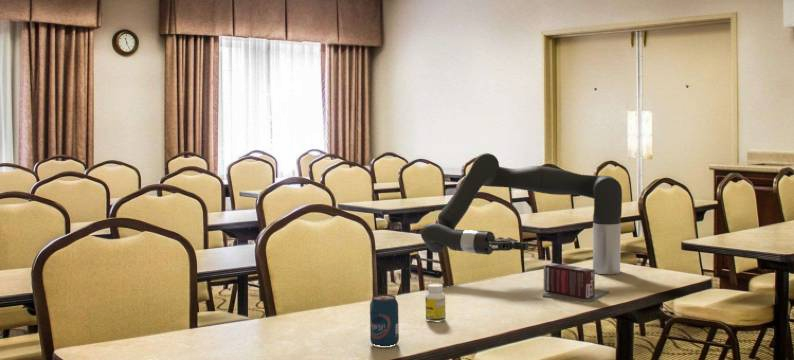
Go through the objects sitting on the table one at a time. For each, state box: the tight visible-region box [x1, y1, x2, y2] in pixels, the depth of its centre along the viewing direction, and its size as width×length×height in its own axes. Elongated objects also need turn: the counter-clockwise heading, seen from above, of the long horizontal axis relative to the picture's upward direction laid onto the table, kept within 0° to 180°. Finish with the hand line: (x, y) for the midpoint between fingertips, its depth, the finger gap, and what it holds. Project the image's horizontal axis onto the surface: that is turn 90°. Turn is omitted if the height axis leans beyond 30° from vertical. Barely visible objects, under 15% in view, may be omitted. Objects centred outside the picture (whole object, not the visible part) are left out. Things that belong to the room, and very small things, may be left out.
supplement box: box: [543, 262, 596, 299], centre depth 274 cm, size 9×5×16 cm
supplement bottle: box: [425, 283, 447, 322], centre depth 245 cm, size 5×5×10 cm
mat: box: [542, 288, 610, 303], centre depth 276 cm, size 16×15×1 cm
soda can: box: [369, 294, 400, 346], centre depth 221 cm, size 7×7×12 cm
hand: (526, 246), depth 284 cm, fingers closed
